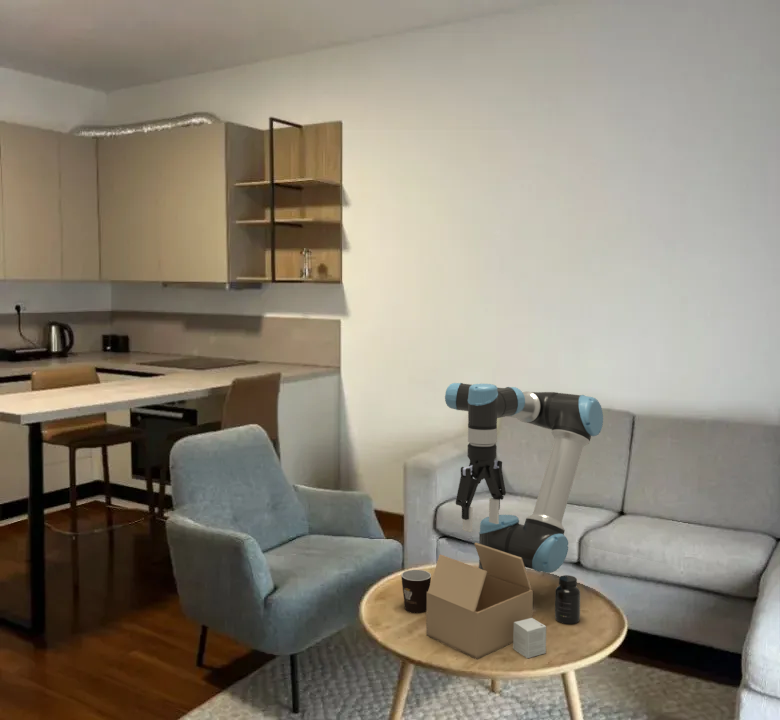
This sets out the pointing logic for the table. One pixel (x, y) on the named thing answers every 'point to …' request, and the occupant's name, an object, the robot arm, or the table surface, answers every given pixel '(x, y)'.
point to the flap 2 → (503, 565)
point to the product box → (529, 638)
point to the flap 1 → (457, 582)
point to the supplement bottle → (567, 600)
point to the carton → (480, 618)
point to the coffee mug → (415, 590)
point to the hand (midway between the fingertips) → (480, 526)
